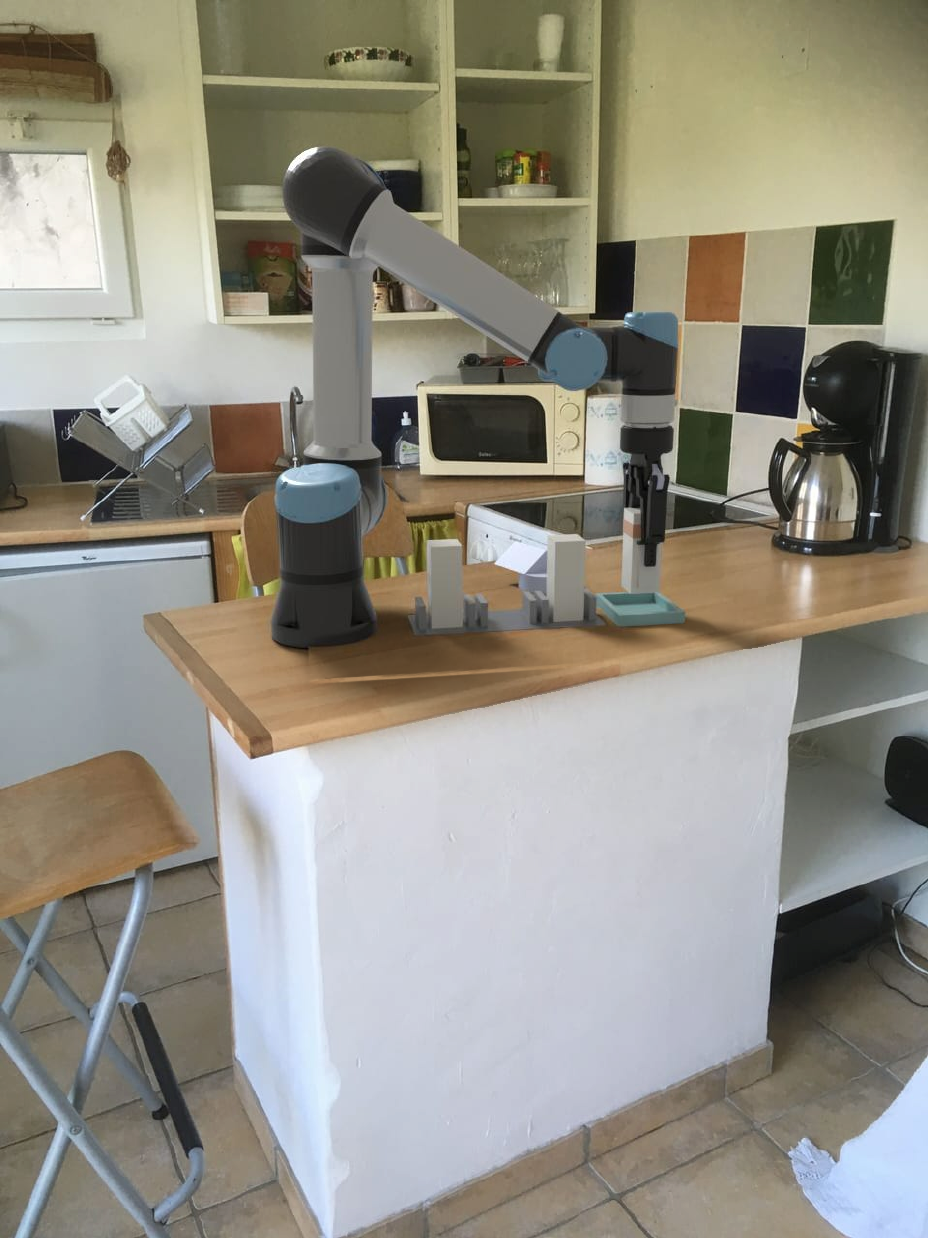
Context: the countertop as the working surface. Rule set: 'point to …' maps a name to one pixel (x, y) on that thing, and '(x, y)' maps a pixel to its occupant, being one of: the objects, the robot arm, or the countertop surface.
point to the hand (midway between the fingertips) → (640, 581)
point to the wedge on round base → (527, 566)
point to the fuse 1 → (444, 583)
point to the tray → (639, 609)
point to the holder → (504, 616)
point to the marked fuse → (635, 553)
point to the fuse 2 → (565, 577)
